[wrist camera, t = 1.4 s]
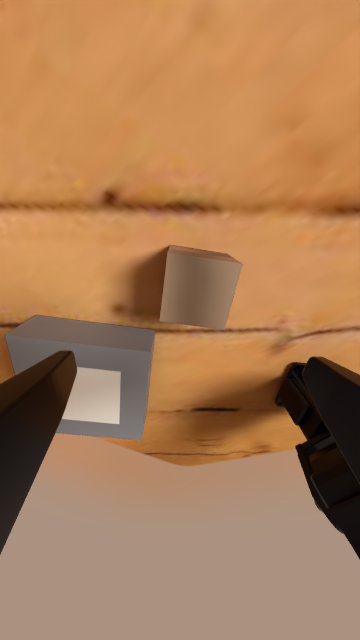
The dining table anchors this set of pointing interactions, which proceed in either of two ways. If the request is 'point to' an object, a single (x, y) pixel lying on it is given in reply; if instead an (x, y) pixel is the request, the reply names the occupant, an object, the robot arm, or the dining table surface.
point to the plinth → (93, 372)
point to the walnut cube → (198, 287)
